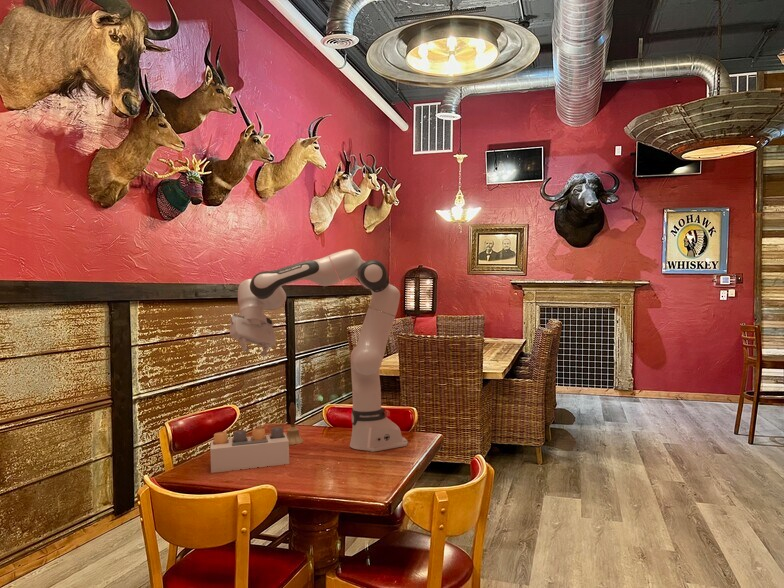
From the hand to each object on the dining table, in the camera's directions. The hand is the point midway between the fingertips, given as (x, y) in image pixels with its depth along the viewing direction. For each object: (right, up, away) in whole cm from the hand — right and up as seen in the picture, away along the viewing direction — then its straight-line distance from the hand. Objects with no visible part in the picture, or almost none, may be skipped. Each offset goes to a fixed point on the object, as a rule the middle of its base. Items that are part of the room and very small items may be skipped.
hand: (255, 353), depth 199 cm
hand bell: (+10, -38, +19) cm, 44 cm away
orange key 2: (+3, -34, -4) cm, 34 cm away
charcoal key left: (+9, -33, -2) cm, 35 cm away
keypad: (0, -38, -7) cm, 39 cm away
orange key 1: (-10, -34, -8) cm, 36 cm away
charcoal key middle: (-4, -34, -6) cm, 34 cm away
